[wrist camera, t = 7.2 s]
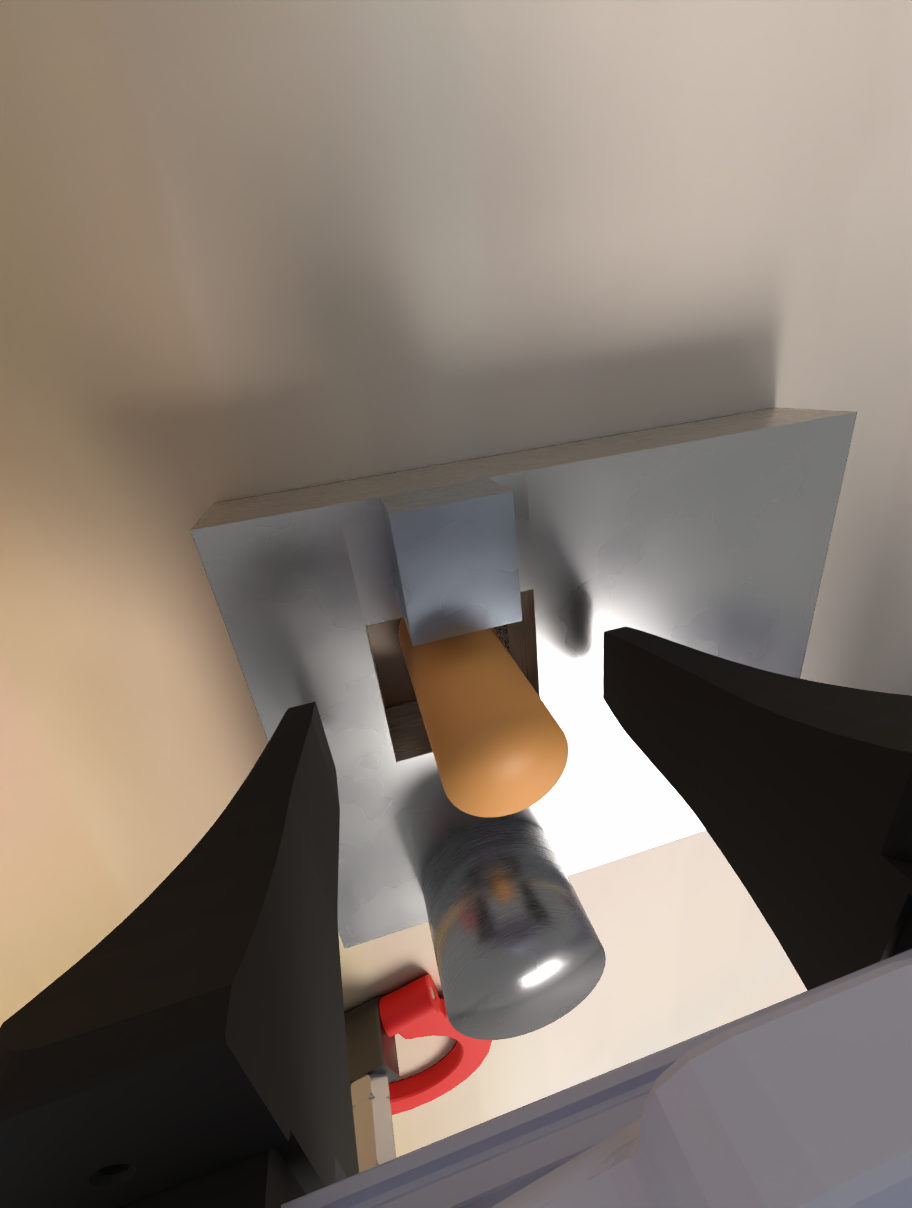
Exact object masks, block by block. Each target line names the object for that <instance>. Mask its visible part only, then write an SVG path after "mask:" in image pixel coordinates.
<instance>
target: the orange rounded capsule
mask: <svg viewBox="0 0 912 1208" xmlns="http://www.w3.org/2000/svg"><path fill="white" fill-rule="evenodd" d="M398 635H399V642H400V645H401V649H402V652H403V655H404V659H405V662H406V665H407V669H408V672H409V675H410V679H411V682H412V685H413V688H414V692H415V695H416V698H417V702H418V705H419V708H420V712H421V715H422V718H423V722H424V725H425V728H426V731H427V735H428V738H429V741H430V745H431V748H432V751H433V755H434V758H435V761H436V765H437V768H438V771H439V774H440V778H441V781H442V784H443V788H444V791H445V793H446V795H447V797H448V799H449V800H450V801H451V802H452V804H453V805H454V806H456V807H457V808H458V809H460V810H461V811H463V812H465V813H468V814H470V815H474V816H478V817H501V816H506V815H510V814H513V813H516V812H519V811H521V810H524V809H526V808H528V807H530V806H531V805H533V804H535V803H536V802H538V801H539V800H541V799H542V798H543V797H544V796H545V795H547V794H548V793H549V792H550V791H551V790H552V788H553V787H554V786H555V785H556V784H557V782H558V781H559V779H560V778H561V776H562V774H563V772H564V770H565V767H566V765H567V760H568V753H569V748H568V742H567V738H566V736H565V733H564V732H563V730H562V729H561V727H560V726H559V724H558V723H557V721H556V720H555V719H554V717H553V716H552V714H551V713H550V711H549V710H548V708H547V707H546V706H545V704H544V703H543V701H542V700H541V698H540V697H539V695H538V694H537V693H536V691H535V690H534V688H533V687H532V685H531V684H530V683H529V681H528V680H527V678H526V677H525V675H524V674H523V672H522V671H521V670H520V668H519V667H518V665H517V664H516V662H515V661H514V660H513V658H512V657H511V655H510V654H509V652H508V651H507V649H506V648H505V647H504V645H503V644H502V642H501V641H500V639H499V638H498V637H497V635H496V634H495V632H494V631H493V629H492V628H489V629H484V630H480V631H476V632H471V633H467V634H463V635H458V636H454V637H450V638H445V639H441V640H437V641H432V642H428V643H424V644H419V645H415V646H413V644H412V641H411V638H410V635H409V632H408V629H407V627H406V624H405V621H404V618H402V619H401V622H400V625H399V634H398Z"/></svg>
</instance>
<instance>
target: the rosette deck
mask: <svg viewBox="0 0 912 1208" xmlns="http://www.w3.org/2000/svg"><path fill="white" fill-rule="evenodd" d="M856 415H857V412H847V411H828V410H810V409H791V408H772V409H766V410H760V411H754V412H748V413H743V414H737V415H731V416H725V417H719V418H713V419H707V420H701V421H696V422H690V423H684V424H678V425H672V426H666V427H660V428H654V429H648V430H643V431H637V432H631V433H625V434H619V435H613V436H607V437H601V438H596V439H590V440H584V441H578V442H572V443H566V444H560V445H554V446H549V447H543V448H537V449H531V450H525V451H519V452H513V453H507V454H501V455H496V456H490V457H484V458H478V459H472V460H466V461H460V462H454V463H449V464H443V465H437V466H431V467H425V468H419V469H413V470H407V471H402V472H396V473H390V474H384V475H378V476H372V477H366V478H360V479H354V480H349V481H343V482H337V483H331V484H325V485H319V486H313V487H307V488H302V489H296V490H290V491H284V492H278V493H272V494H266V495H260V496H255V497H249V498H243V499H237V500H231V501H225V502H219V503H214V505H213V506H212V507H211V508H210V509H209V510H208V511H207V512H206V513H205V515H204V516H203V517H202V518H201V519H200V520H199V521H198V522H197V524H196V525H195V526H194V527H193V528H192V529H191V533H192V536H193V539H194V541H195V544H196V547H197V549H198V552H199V555H200V558H201V560H202V563H203V566H204V568H205V571H206V574H207V577H208V579H209V582H210V585H211V587H212V590H213V593H214V596H215V598H216V601H217V604H218V606H219V609H220V612H221V615H222V617H223V620H224V623H225V625H226V628H227V631H228V634H229V636H230V639H231V642H232V644H233V647H234V650H235V653H236V655H237V658H238V661H239V663H240V666H241V669H242V671H243V674H244V677H245V680H246V682H247V685H248V688H249V690H250V693H251V696H252V699H253V701H254V704H255V707H256V709H257V712H258V715H259V718H260V720H261V723H262V726H263V728H264V731H265V734H266V737H267V739H268V742H269V740H270V739H271V737H272V735H273V733H274V732H275V730H276V728H277V726H278V724H279V723H280V721H281V719H282V717H283V716H284V714H285V712H286V711H287V709H288V708H291V707H295V706H299V705H303V704H307V703H312V702H316V705H317V708H318V711H319V715H320V718H321V721H322V725H323V728H324V731H325V735H326V738H327V741H328V745H329V748H330V751H331V754H332V758H333V761H334V764H335V768H336V775H337V784H338V794H339V805H340V828H339V868H338V905H337V906H338V932H339V935H340V937H341V940H342V943H343V945H344V948H348V947H351V946H354V945H357V944H360V943H363V942H367V941H370V940H373V939H376V938H379V937H382V936H385V935H388V934H391V933H394V932H397V931H400V930H403V929H406V928H409V927H412V926H415V925H418V924H421V923H424V922H427V921H429V926H430V931H431V936H432V941H433V946H434V951H435V956H436V961H437V966H438V971H439V976H440V981H441V986H442V991H443V996H444V1001H445V1006H446V1011H447V1016H448V1019H449V1022H450V1024H451V1025H452V1026H453V1028H454V1029H455V1030H457V1031H458V1032H459V1033H461V1034H463V1035H465V1036H467V1037H470V1038H475V1039H481V1040H498V1039H506V1038H512V1037H516V1036H520V1035H524V1034H527V1033H529V1032H532V1031H535V1030H537V1029H540V1028H542V1027H544V1026H546V1025H548V1024H550V1023H552V1022H554V1021H556V1020H557V1019H559V1018H561V1017H562V1016H564V1015H565V1014H567V1013H568V1012H570V1011H571V1010H572V1009H574V1008H575V1007H576V1006H577V1005H578V1004H580V1003H581V1002H582V1001H583V1000H584V999H585V998H586V997H587V996H588V995H589V994H590V992H591V991H592V990H593V989H594V987H595V986H596V984H597V983H598V981H599V980H600V978H601V975H602V973H603V970H604V967H605V960H606V959H605V952H604V949H603V947H602V945H601V943H600V941H599V939H598V937H597V935H596V933H595V931H594V929H593V927H592V925H591V923H590V921H589V919H588V917H587V915H586V913H585V911H584V909H583V907H582V905H581V903H580V900H579V898H578V896H577V894H576V892H575V890H574V888H573V886H572V884H571V882H570V880H569V878H568V875H571V874H574V873H577V872H580V871H583V870H586V869H589V868H592V867H595V866H598V865H601V864H604V863H607V862H610V861H613V860H616V859H619V858H622V857H625V856H628V855H631V854H635V853H638V852H641V851H644V850H647V849H650V848H653V847H656V846H659V845H662V844H665V843H668V842H671V841H674V840H677V839H680V838H683V837H686V836H689V835H692V834H695V833H698V832H702V831H705V830H706V829H705V827H704V826H703V825H702V823H701V822H700V820H699V819H698V817H697V816H696V815H695V813H694V812H693V811H692V810H691V808H690V807H689V806H688V805H687V803H686V802H685V801H684V800H683V798H682V797H681V796H680V795H679V794H678V792H677V791H676V790H675V789H674V788H673V787H672V786H671V784H670V783H669V782H668V781H667V780H666V779H665V778H664V776H663V775H662V774H661V773H660V772H659V771H658V769H657V768H656V767H655V766H654V765H653V764H652V763H651V761H650V760H649V759H648V758H647V757H646V756H645V755H644V753H643V752H642V751H641V750H640V749H639V748H638V746H637V745H636V744H635V743H634V742H633V740H632V739H631V738H630V737H629V736H628V735H627V733H626V732H625V731H624V730H623V728H622V727H621V725H620V724H619V722H618V721H617V719H616V718H615V716H614V715H613V713H612V712H611V710H610V708H609V707H608V705H607V703H606V702H605V700H604V699H603V645H604V632H605V631H609V630H613V629H617V628H621V627H625V626H626V627H630V628H634V629H637V630H641V631H644V632H647V633H650V634H653V635H656V636H659V637H662V638H665V639H667V640H670V641H673V642H676V643H679V644H682V645H685V646H688V647H690V648H693V649H696V650H699V651H702V652H705V653H708V654H711V655H714V656H717V657H721V658H724V659H727V660H730V661H734V662H737V663H740V664H744V665H747V666H751V667H754V668H758V669H761V670H765V671H769V672H773V673H777V674H782V675H786V676H791V677H795V678H799V679H800V675H801V670H802V666H803V661H804V656H805V652H806V647H807V642H808V638H809V633H810V629H811V624H812V619H813V615H814V610H815V605H816V601H817V596H818V591H819V587H820V582H821V577H822V573H823V568H824V564H825V559H826V554H827V550H828V545H829V540H830V536H831V531H832V526H833V522H834V517H835V512H836V508H837V503H838V499H839V494H840V489H841V485H842V480H843V475H844V471H845V466H846V461H847V457H848V452H849V447H850V443H851V438H852V434H853V429H854V424H855V420H856ZM399 618H404V621H405V624H406V627H407V629H408V632H409V635H410V638H411V641H412V644H413V646H415V645H419V644H424V643H428V642H432V641H437V640H441V639H445V638H450V637H454V636H458V635H463V634H467V633H471V632H476V631H480V630H484V629H489V628H493V627H497V626H502V625H506V624H507V632H508V643H509V654H510V655H511V657H512V658H513V660H514V661H515V662H516V664H517V665H518V667H519V668H520V670H521V671H522V672H523V674H524V675H525V677H526V678H527V680H528V681H529V683H530V684H531V685H532V687H533V688H534V690H535V691H536V693H537V694H538V695H539V697H540V698H541V700H542V701H543V703H544V704H545V706H546V707H547V708H548V710H549V711H550V713H551V714H552V716H553V717H554V719H555V720H556V721H557V723H558V724H559V726H560V727H561V729H562V730H563V732H564V733H565V736H566V738H567V742H568V748H569V753H568V760H567V765H566V767H565V770H564V772H563V774H562V776H561V778H560V779H559V781H558V782H557V784H556V785H555V786H554V787H553V788H552V790H551V791H550V792H549V793H548V794H547V795H545V796H544V797H543V798H542V799H541V800H539V801H538V802H536V803H535V804H533V805H531V806H530V807H528V808H526V809H524V810H521V811H519V812H516V813H513V814H510V815H506V816H501V817H478V816H474V815H470V814H468V813H465V812H463V811H461V810H460V809H458V808H457V807H456V806H454V805H453V804H452V802H451V801H450V800H449V799H448V797H447V795H446V793H445V791H444V788H443V784H442V781H441V778H440V774H439V771H438V768H437V765H436V761H435V758H434V755H433V751H432V748H431V745H430V741H429V738H428V735H427V731H426V728H425V725H424V722H423V718H422V715H421V712H420V708H419V705H418V702H417V700H416V701H412V702H408V703H404V704H400V705H396V706H392V707H388V708H385V703H384V699H383V695H382V690H381V686H380V681H379V677H378V673H377V668H376V664H375V659H374V655H373V651H372V646H371V642H370V638H369V633H368V629H367V626H368V625H372V624H377V623H381V622H386V621H390V620H395V619H399Z"/></svg>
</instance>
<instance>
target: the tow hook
mask: <svg viewBox="0 0 912 1208" xmlns="http://www.w3.org/2000/svg"><path fill="white" fill-rule="evenodd" d="M344 1018H345V1031H346V1042H347V1053H348V1064H349V1075H350V1086H351V1097H352V1107H353V1117H354V1126H355V1136H356V1146H357V1156H358V1165H359V1173H361V1172H363V1171H366V1170H368V1169H371V1168H373V1167H375V1166H378V1165H380V1164H383V1163H385V1162H388V1161H390V1160H393V1159H395V1158H396V1151H395V1141H394V1132H393V1122H392V1115H393V1114H397V1113H400V1112H403V1111H407V1110H410V1109H413V1108H415V1107H417V1106H420V1105H422V1104H425V1103H427V1102H429V1101H432V1100H434V1099H435V1098H437V1097H439V1096H441V1095H443V1094H444V1093H446V1092H448V1091H450V1090H451V1089H453V1088H454V1087H456V1086H457V1085H458V1084H460V1083H461V1082H463V1081H464V1080H465V1079H467V1078H468V1077H469V1076H470V1075H471V1074H472V1073H473V1072H474V1071H475V1070H476V1069H477V1068H478V1067H479V1066H480V1065H481V1063H482V1062H483V1060H484V1058H485V1057H486V1055H487V1054H488V1052H489V1049H490V1045H491V1041H492V1040H481V1039H475V1038H470V1037H467V1036H465V1035H463V1034H461V1033H459V1032H458V1031H457V1030H455V1029H454V1028H453V1026H452V1025H451V1024H450V1022H449V1019H448V1016H447V1011H446V1006H445V1001H444V998H441V999H440V997H439V996H438V993H437V989H436V986H435V984H434V982H433V980H432V978H431V976H430V975H429V974H427V975H425V976H423V977H421V978H419V979H417V980H415V981H413V982H411V983H409V984H407V985H405V986H403V987H401V988H400V989H398V990H396V991H394V992H392V993H390V994H388V995H386V996H384V997H382V996H378V997H375V998H373V999H371V1000H370V1001H368V1002H366V1003H364V1004H362V1005H360V1006H358V1007H356V1008H354V1009H352V1010H350V1011H348V1012H346V1013H344ZM398 1033H399V1034H400V1035H401V1036H403V1037H404V1038H405V1039H412V1038H416V1037H423V1036H432V1035H436V1036H447V1037H450V1038H454V1039H455V1040H456V1041H457V1043H456V1045H455V1047H454V1048H453V1049H452V1051H451V1052H450V1053H449V1054H448V1055H447V1056H446V1057H445V1058H443V1059H442V1060H441V1061H439V1062H438V1063H437V1064H435V1065H434V1066H432V1067H430V1068H429V1069H427V1070H425V1071H423V1072H421V1073H419V1074H417V1075H414V1076H412V1077H409V1078H407V1079H403V1080H400V1081H396V1082H392V1081H394V1080H396V1079H397V1078H399V1077H400V1076H399V1068H398V1060H397V1052H396V1044H395V1035H396V1034H398ZM390 1082H392V1083H390Z"/></svg>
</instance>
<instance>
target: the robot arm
mask: <svg viewBox="0 0 912 1208" xmlns="http://www.w3.org/2000/svg"><path fill="white" fill-rule="evenodd" d="M603 699H604V700H605V702H606V703H607V705H608V707H609V708H610V710H611V712H612V713H613V715H614V716H615V718H616V719H617V721H618V722H619V724H620V725H621V727H622V728H623V730H624V731H625V732H626V733H627V735H628V736H629V737H630V738H631V739H632V740H633V742H634V743H635V744H636V745H637V746H638V748H639V749H640V750H641V751H642V752H643V753H644V755H645V756H646V757H647V758H648V759H649V760H650V761H651V763H652V764H653V765H654V766H655V767H656V768H657V769H658V771H659V772H660V773H661V774H662V775H663V776H664V778H665V779H666V780H667V781H668V782H669V783H670V784H671V786H672V787H673V788H674V789H675V790H676V791H677V792H678V794H679V795H680V796H681V797H682V798H683V800H684V801H685V802H686V803H687V805H688V806H689V807H690V808H691V810H692V811H693V812H694V813H695V815H696V816H697V817H698V819H699V820H700V822H701V823H702V825H703V826H704V827H705V829H706V830H707V832H708V833H709V834H710V836H711V837H712V839H713V840H714V842H715V843H716V844H717V846H718V847H719V849H720V850H721V852H722V853H723V855H724V856H725V858H726V859H727V861H728V862H729V864H730V865H731V867H732V868H733V870H734V871H735V873H736V874H737V876H738V877H739V879H740V880H741V882H742V883H743V885H744V886H745V888H746V889H747V891H748V892H749V894H750V895H751V897H752V899H753V900H754V902H755V903H756V905H757V907H758V908H759V910H760V911H761V913H762V915H763V916H764V918H765V919H766V921H767V923H768V924H769V926H770V927H771V929H772V931H773V932H774V934H775V935H776V937H777V939H778V940H779V942H780V944H781V946H782V947H783V949H784V951H785V952H786V954H787V956H788V958H789V959H790V961H791V963H792V964H793V966H794V968H795V970H796V971H797V973H798V975H799V976H800V978H801V980H802V982H803V983H804V985H805V987H806V988H807V990H808V991H806V992H804V993H801V994H799V995H796V996H794V997H791V998H789V999H786V1000H784V1001H781V1002H779V1003H777V1004H774V1005H772V1006H769V1007H767V1008H764V1009H762V1010H759V1011H757V1012H754V1013H752V1014H750V1015H747V1016H745V1017H742V1018H740V1019H737V1020H735V1021H732V1022H730V1023H727V1024H725V1025H722V1026H720V1027H718V1028H715V1029H713V1030H710V1031H708V1032H705V1033H703V1034H700V1035H698V1036H695V1037H693V1038H690V1039H688V1040H686V1041H683V1042H681V1043H678V1044H676V1045H673V1046H671V1047H668V1048H666V1049H663V1050H661V1051H658V1052H656V1053H654V1054H651V1055H649V1056H646V1057H644V1058H641V1059H639V1060H636V1061H634V1062H631V1063H629V1064H626V1065H624V1066H622V1067H619V1068H617V1069H614V1070H612V1071H609V1072H607V1073H604V1074H602V1075H599V1076H597V1077H594V1078H592V1079H590V1080H587V1081H585V1082H582V1083H580V1084H577V1085H575V1086H572V1087H570V1088H567V1089H565V1090H562V1091H560V1092H558V1093H555V1094H553V1095H550V1096H548V1097H545V1098H543V1099H540V1100H538V1101H535V1102H533V1103H530V1104H528V1105H526V1106H523V1107H521V1108H518V1109H516V1110H513V1111H511V1112H508V1113H506V1114H503V1115H501V1116H498V1117H496V1118H494V1119H491V1120H489V1121H486V1122H484V1123H481V1124H479V1125H476V1126H474V1127H471V1128H469V1129H467V1130H464V1131H462V1132H459V1133H457V1134H454V1135H452V1136H449V1137H447V1138H444V1139H442V1140H439V1141H437V1142H435V1143H432V1144H430V1145H427V1146H425V1147H422V1148H420V1149H417V1150H415V1151H412V1152H410V1153H407V1154H405V1155H403V1156H400V1157H398V1158H395V1159H393V1160H390V1161H388V1162H385V1163H383V1164H380V1165H378V1166H375V1167H373V1168H371V1169H368V1170H366V1171H363V1172H361V1173H359V1165H358V1156H357V1146H356V1136H355V1126H354V1117H353V1107H352V1097H351V1086H350V1075H349V1064H348V1053H347V1042H346V1031H345V1018H344V1006H343V993H342V981H341V967H340V952H339V938H338V906H337V905H338V868H339V828H340V805H339V794H338V784H337V775H336V768H335V764H334V761H333V758H332V754H331V751H330V748H329V745H328V741H327V738H326V735H325V731H324V728H323V725H322V721H321V718H320V715H319V711H318V708H317V705H316V702H312V703H307V704H303V705H299V706H295V707H291V708H288V709H287V711H286V712H285V714H284V716H283V717H282V719H281V721H280V723H279V724H278V726H277V728H276V730H275V732H274V733H273V735H272V737H271V739H270V740H269V742H268V744H267V746H266V747H265V749H264V751H263V752H262V754H261V756H260V757H259V759H258V760H257V762H256V764H255V765H254V767H253V769H252V770H251V772H250V773H249V775H248V777H247V778H246V780H245V781H244V783H243V784H242V785H241V787H240V788H239V790H238V791H237V793H236V794H235V796H234V797H233V798H232V800H231V801H230V803H229V804H228V806H227V807H226V809H225V810H224V811H223V813H222V814H221V815H220V817H219V818H218V819H217V821H216V822H215V823H214V824H213V826H212V827H211V828H210V829H209V831H208V832H207V833H206V834H205V835H204V837H203V838H202V839H201V840H200V841H199V843H198V844H197V845H196V846H195V847H194V849H193V850H192V851H191V852H190V853H189V854H188V855H187V857H186V858H185V859H184V860H183V861H182V862H181V863H180V864H179V865H178V866H177V867H176V868H175V869H174V870H173V871H172V872H171V873H170V875H169V876H168V877H167V878H166V879H165V880H164V881H163V882H162V883H161V884H160V885H159V886H158V887H157V888H156V889H155V890H154V891H153V892H152V894H151V895H150V896H149V897H148V898H147V899H146V900H145V901H144V902H143V903H142V904H140V905H139V906H138V907H137V908H136V909H135V910H134V911H133V912H132V913H131V914H130V915H129V916H128V917H127V918H126V919H125V920H124V921H123V922H122V923H121V924H120V925H118V926H117V927H116V928H115V929H114V930H113V931H112V932H111V933H110V934H109V935H107V936H106V937H105V938H104V939H103V940H102V941H101V942H100V943H99V944H98V945H96V946H95V947H94V948H93V949H92V950H91V951H90V952H89V953H87V954H86V955H85V956H84V957H83V958H82V959H81V960H79V961H78V962H77V963H76V964H75V965H73V966H72V967H71V968H70V969H69V970H67V971H66V972H65V973H64V974H63V975H61V976H60V977H59V978H58V979H56V980H55V981H54V982H53V983H52V984H50V985H49V986H48V987H47V988H46V989H44V990H43V991H42V992H41V993H40V994H38V995H37V996H36V997H35V998H33V999H32V1000H31V1001H30V1002H29V1003H27V1004H26V1005H25V1006H24V1007H23V1008H21V1009H20V1010H19V1011H18V1012H16V1013H15V1014H14V1015H13V1016H11V1017H10V1018H9V1019H7V1020H6V1021H5V1022H4V1023H3V1024H2V1026H1V1027H0V1208H912V696H909V695H899V694H890V693H882V692H874V691H867V690H860V689H854V688H848V687H842V686H836V685H830V684H824V683H819V682H814V681H808V680H804V679H799V678H795V677H791V676H786V675H782V674H777V673H773V672H769V671H765V670H761V669H758V668H754V667H751V666H747V665H744V664H740V663H737V662H734V661H730V660H727V659H724V658H721V657H717V656H714V655H711V654H708V653H705V652H702V651H699V650H696V649H693V648H690V647H688V646H685V645H682V644H679V643H676V642H673V641H670V640H667V639H665V638H662V637H659V636H656V635H653V634H650V633H647V632H644V631H641V630H637V629H634V628H630V627H626V626H625V627H621V628H617V629H613V630H609V631H605V632H604V645H603Z"/></svg>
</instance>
